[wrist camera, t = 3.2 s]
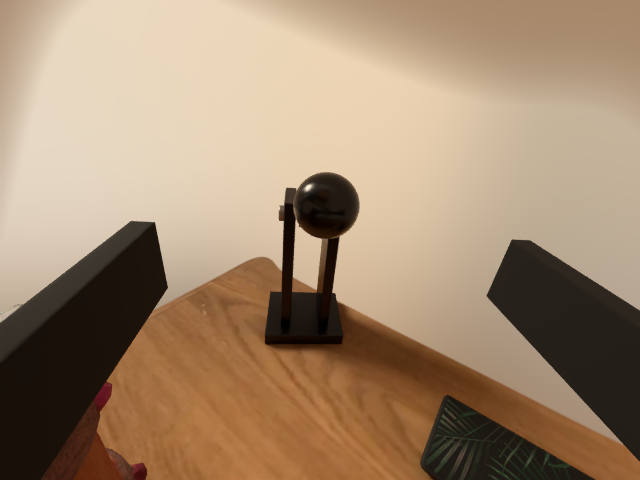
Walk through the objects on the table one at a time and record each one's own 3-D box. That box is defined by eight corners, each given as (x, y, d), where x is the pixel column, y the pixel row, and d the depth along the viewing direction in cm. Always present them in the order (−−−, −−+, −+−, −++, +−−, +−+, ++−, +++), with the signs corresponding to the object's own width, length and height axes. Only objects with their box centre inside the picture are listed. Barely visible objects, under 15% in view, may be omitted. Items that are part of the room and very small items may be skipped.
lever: (365, 242, 14) (369, 168, 14) (292, 238, 14) (295, 163, 13) (327, 234, 28) (329, 198, 28) (291, 232, 28) (293, 195, 28)
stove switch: (342, 344, 30) (364, 213, 23) (264, 343, 29) (264, 208, 22) (334, 300, 36) (349, 187, 29) (270, 299, 35) (271, 182, 28)
